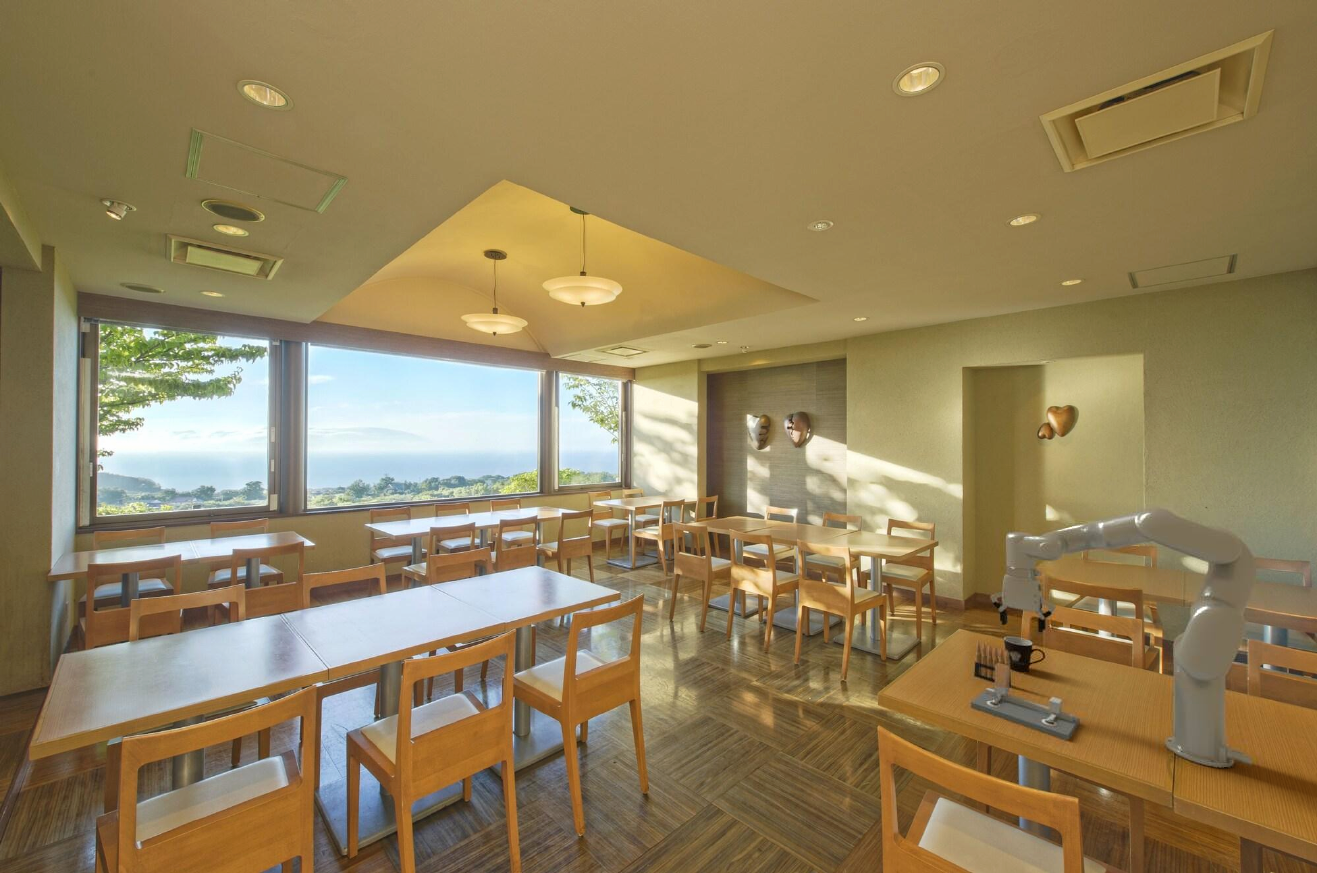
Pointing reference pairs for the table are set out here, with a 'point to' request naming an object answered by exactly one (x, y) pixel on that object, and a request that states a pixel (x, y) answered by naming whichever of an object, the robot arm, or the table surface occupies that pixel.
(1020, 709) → the grey slotted base plate
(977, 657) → the ammunition clip
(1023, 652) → the coffee mug
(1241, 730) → the table surface
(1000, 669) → the sliding leg
